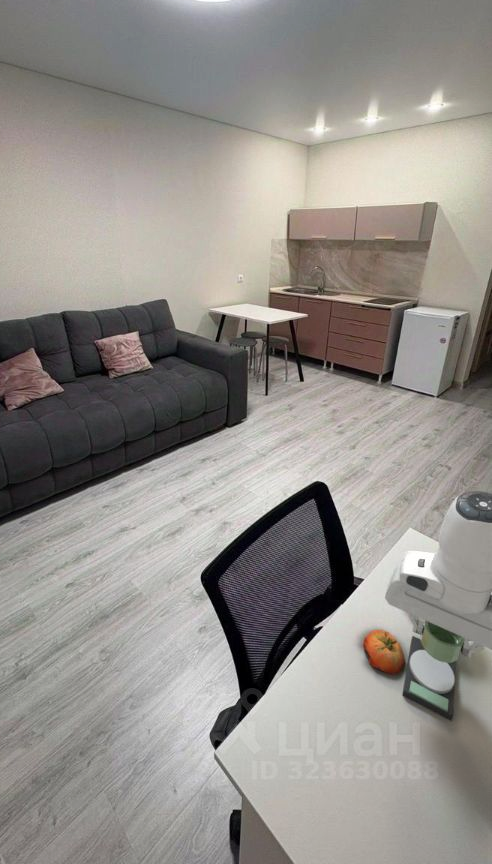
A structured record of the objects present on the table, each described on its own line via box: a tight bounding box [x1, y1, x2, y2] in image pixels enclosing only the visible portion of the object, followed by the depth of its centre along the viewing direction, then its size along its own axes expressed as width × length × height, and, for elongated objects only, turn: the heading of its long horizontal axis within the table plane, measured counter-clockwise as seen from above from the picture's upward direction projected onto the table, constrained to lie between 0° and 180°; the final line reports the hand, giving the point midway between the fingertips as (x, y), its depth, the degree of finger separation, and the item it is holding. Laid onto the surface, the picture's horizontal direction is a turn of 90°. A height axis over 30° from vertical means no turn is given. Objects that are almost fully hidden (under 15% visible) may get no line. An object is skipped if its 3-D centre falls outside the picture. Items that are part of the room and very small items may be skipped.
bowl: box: [419, 621, 466, 663], centre depth 71 cm, size 6×6×4 cm
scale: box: [401, 635, 457, 722], centre depth 75 cm, size 12×8×3 cm, turn 149°
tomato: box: [362, 629, 406, 675], centre depth 79 cm, size 8×7×7 cm
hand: (440, 641), depth 71 cm, fingers closed on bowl, 6 cm apart
